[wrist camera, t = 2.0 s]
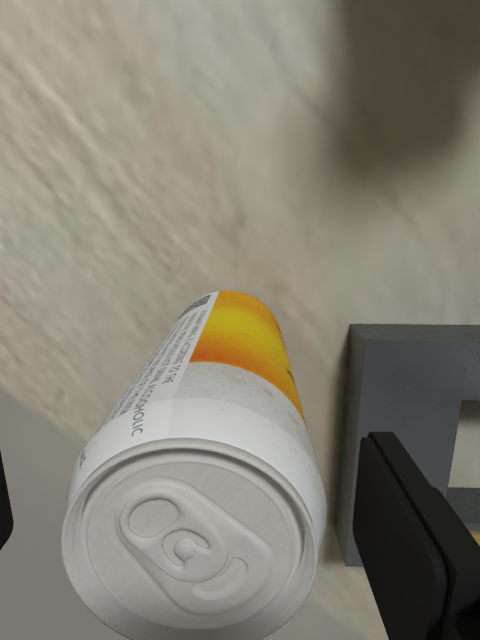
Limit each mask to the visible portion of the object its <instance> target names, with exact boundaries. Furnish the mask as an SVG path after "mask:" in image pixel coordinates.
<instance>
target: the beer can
mask: <svg viewBox="0 0 480 640" xmlns="http://www.w3.org/2000/svg"><path fill="white" fill-rule="evenodd" d="M326 524H327V504H326V496H325V492H324V488H323V484H322V480H321V477H320V473H319V469H318V466H317V462H316V459H315V455H314V451H313V448H312V444H311V440H310V437H309V433H308V429H307V426H306V422H305V418H304V415H303V411H302V408H301V404H300V400H299V397H298V393H297V389H296V386H295V382H294V378H293V375H292V371H291V368H290V364H289V360H288V357H287V353H286V349H285V346H284V342H283V338H282V335H281V331H280V328H279V325H278V322H277V320H276V319H275V317H274V315H273V314H272V312H271V311H270V310H269V309H268V308H267V307H266V306H265V305H264V304H263V303H262V302H260V301H259V300H258V299H256V298H254V297H252V296H250V295H248V294H245V293H242V292H237V291H217V292H213V293H209V294H207V295H204V296H202V297H200V298H199V299H197V300H196V301H194V302H193V303H192V304H191V305H190V306H189V307H188V308H187V309H186V310H185V311H184V312H183V314H182V315H181V317H180V318H179V319H178V321H177V322H176V323H175V325H174V326H173V327H172V329H171V330H170V332H169V333H168V334H167V336H166V337H165V338H164V340H163V341H162V342H161V344H160V345H159V347H158V348H157V349H156V351H155V352H154V353H153V355H152V356H151V357H150V359H149V360H148V362H147V363H146V364H145V366H144V367H143V368H142V370H141V371H140V372H139V374H138V375H137V377H136V378H135V379H134V381H133V382H132V383H131V385H130V386H129V387H128V389H127V390H126V392H125V393H124V394H123V396H122V397H121V398H120V400H119V401H118V402H117V404H116V405H115V407H114V408H113V409H112V411H111V412H110V413H109V415H108V416H107V418H106V419H105V420H104V422H103V423H102V424H101V426H100V427H99V428H98V430H97V431H96V433H95V434H94V435H93V437H92V438H91V439H90V441H89V442H88V443H87V445H86V446H85V448H84V449H83V451H82V452H81V454H80V456H79V457H78V459H77V461H76V463H75V466H74V468H73V470H72V473H71V477H70V481H69V484H68V493H67V512H66V516H65V519H64V523H63V527H62V534H61V553H62V559H63V564H64V568H65V571H66V574H67V577H68V579H69V581H70V583H71V585H72V587H73V589H74V590H75V592H76V594H77V595H78V597H79V598H80V600H81V601H82V602H83V603H84V605H85V606H86V607H87V608H88V609H89V610H90V611H91V612H92V613H93V614H94V615H95V616H96V617H97V618H98V619H99V620H101V621H102V622H103V623H104V624H105V625H107V626H108V627H110V628H111V629H112V630H114V631H116V632H117V633H119V634H121V635H123V636H124V637H126V638H128V639H130V640H262V639H264V638H265V637H267V636H269V635H271V634H272V633H274V632H275V631H276V630H278V629H279V628H281V627H282V626H283V625H284V624H286V623H287V622H288V621H289V620H290V619H291V618H292V617H293V616H294V615H295V614H296V612H297V611H298V610H299V609H300V607H301V606H302V604H303V603H304V601H305V600H306V598H307V596H308V594H309V592H310V590H311V588H312V585H313V582H314V579H315V575H316V569H317V563H318V553H319V550H320V548H321V545H322V542H323V539H324V535H325V530H326Z"/></svg>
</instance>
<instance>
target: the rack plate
mask: <svg viewBox="0 0 480 640" xmlns="http://www.w3.org/2000/svg"><path fill="white" fill-rule="evenodd" d="M462 400H480V325H409V324H350V335H349V348H348V360H347V373H346V386H345V399H344V412H343V424H342V437H341V450H340V463H339V476H338V488H337V501H336V514H335V530H336V534H337V537H338V541H339V545H340V548H341V552H342V556H343V559H344V563H345V566H362V567H364V566H363V563H362V560H361V557H360V555H359V552H358V549H357V546H356V543H355V540H354V536H353V528H352V523H353V512H354V502H355V491H356V481H357V471H358V460H359V450H360V441H361V438H362V437H367V436H368V433H369V432H393V433H394V434H395V435H396V436H397V438H398V439H399V441H400V442H401V444H402V445H403V446H404V448H405V449H406V451H407V452H408V454H409V455H410V456H411V458H412V459H413V461H414V462H415V463H416V465H417V466H418V468H419V469H420V471H421V472H422V473H423V475H424V476H425V478H426V479H427V481H428V482H429V483H430V485H431V486H433V487H435V488H437V489H438V490H439V491H440V492H441V493H442V494H443V496H444V497H445V499H446V500H447V501H448V503H449V504H450V505H451V507H452V508H453V510H454V511H455V512H456V514H457V515H458V517H459V518H460V519H461V521H462V522H463V523H464V525H465V526H466V528H467V529H468V530H469V532H470V533H471V535H472V536H473V537H474V539H475V540H476V541H477V543H478V544H479V546H480V488H448V483H449V476H450V470H451V464H452V458H453V452H454V446H455V440H456V433H457V427H458V421H459V415H460V409H461V403H462Z"/></svg>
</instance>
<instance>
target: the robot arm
mask: <svg viewBox="0 0 480 640" xmlns="http://www.w3.org/2000/svg"><path fill="white" fill-rule="evenodd" d="M352 528H353V536H354V540H355V543H356V546H357V549H358V552H359V555H360V557H361V560H362V563H363V566H364V569H365V572H366V575H367V578H368V580H369V583H370V586H371V589H372V592H373V595H374V598H375V601H376V604H377V606H378V609H379V612H380V615H381V618H382V621H383V624H384V627H385V629H386V632H387V635H388V638H389V640H480V546H479V544H478V543H477V541H476V540H475V539H474V537H473V536H472V535H471V533H470V532H469V530H468V529H467V528H466V526H465V525H464V523H463V522H462V521H461V519H460V518H459V517H458V515H457V514H456V512H455V511H454V510H453V508H452V507H451V505H450V504H449V503H448V501H447V500H446V499H445V497H444V496H443V494H442V493H441V492H440V491H439V490H438V489H437V488H435V487H433V486H431V485H430V483H429V482H428V481H427V479H426V478H425V476H424V475H423V473H422V472H421V471H420V469H419V468H418V466H417V465H416V463H415V462H414V461H413V459H412V458H411V456H410V455H409V454H408V452H407V451H406V449H405V448H404V446H403V445H402V444H401V442H400V441H399V439H398V438H397V436H396V435H395V434H394V433H393V432H369V433H368V436H367V437H362V438H361V441H360V450H359V460H358V471H357V481H356V491H355V502H354V512H353V523H352ZM12 529H13V517H12V511H11V506H10V500H9V496H8V490H7V485H6V480H5V474H4V469H3V463H2V457H1V452H0V550H1V548H2V547H3V546H4V544H5V543H6V541H7V540H8V539H9V537H10V535H11V533H12Z"/></svg>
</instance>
